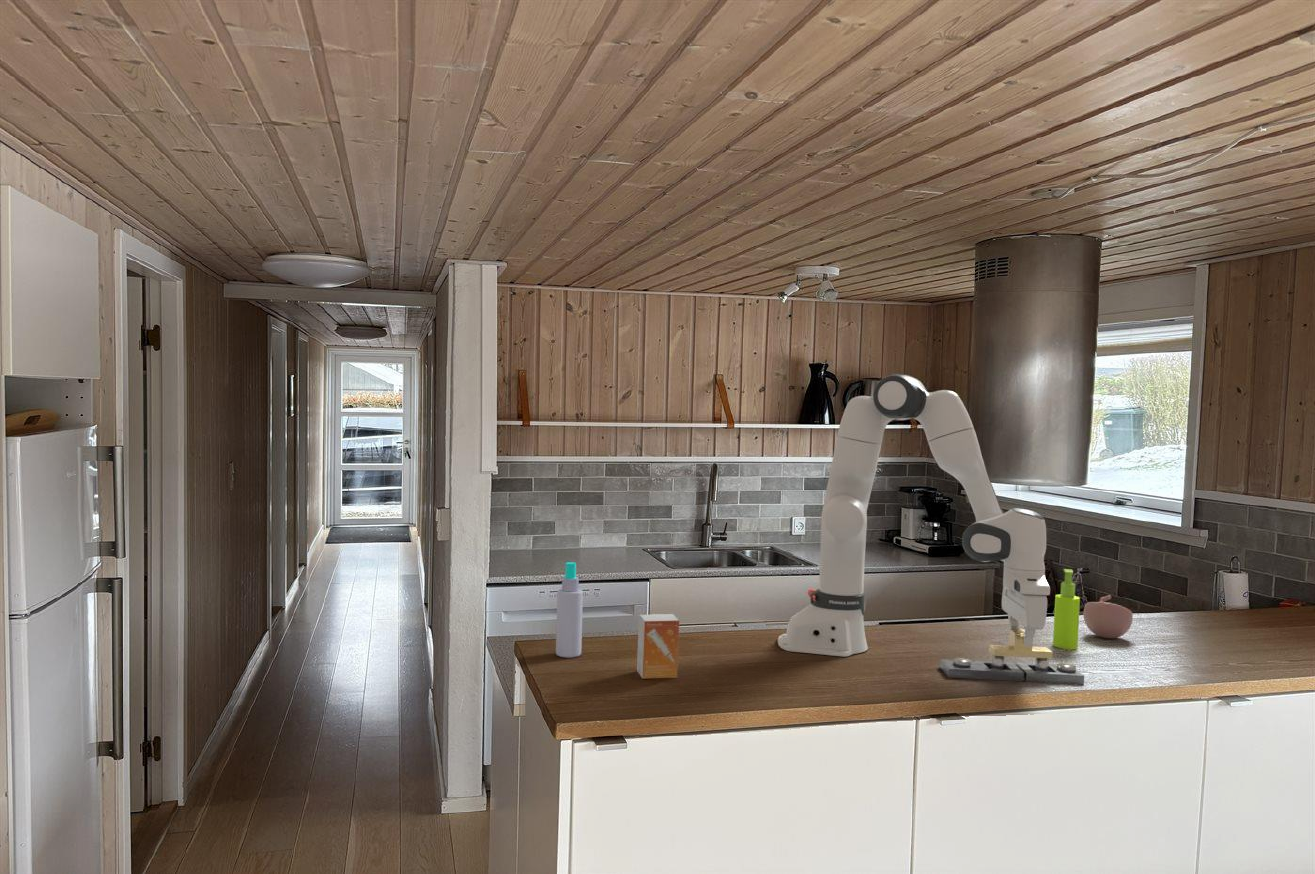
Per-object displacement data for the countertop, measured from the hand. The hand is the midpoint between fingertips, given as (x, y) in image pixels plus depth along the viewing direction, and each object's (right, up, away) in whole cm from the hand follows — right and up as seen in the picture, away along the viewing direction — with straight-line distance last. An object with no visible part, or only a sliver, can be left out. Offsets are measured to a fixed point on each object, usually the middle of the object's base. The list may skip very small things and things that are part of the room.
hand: (1020, 639), depth 213 cm
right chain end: (+6, -9, 0) cm, 11 cm away
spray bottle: (-105, -5, +7) cm, 105 cm away
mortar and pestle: (+39, -8, +39) cm, 55 cm away
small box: (-84, -7, -7) cm, 84 cm away
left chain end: (-9, -8, +1) cm, 12 cm away
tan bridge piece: (0, -9, 0) cm, 9 cm away
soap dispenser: (+23, -8, +29) cm, 38 cm away
